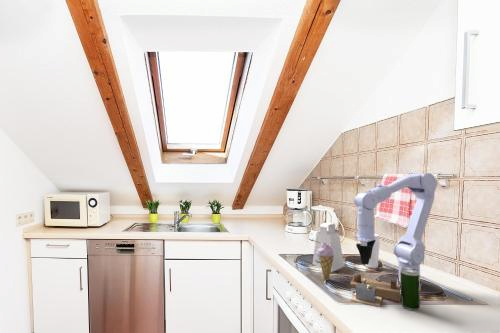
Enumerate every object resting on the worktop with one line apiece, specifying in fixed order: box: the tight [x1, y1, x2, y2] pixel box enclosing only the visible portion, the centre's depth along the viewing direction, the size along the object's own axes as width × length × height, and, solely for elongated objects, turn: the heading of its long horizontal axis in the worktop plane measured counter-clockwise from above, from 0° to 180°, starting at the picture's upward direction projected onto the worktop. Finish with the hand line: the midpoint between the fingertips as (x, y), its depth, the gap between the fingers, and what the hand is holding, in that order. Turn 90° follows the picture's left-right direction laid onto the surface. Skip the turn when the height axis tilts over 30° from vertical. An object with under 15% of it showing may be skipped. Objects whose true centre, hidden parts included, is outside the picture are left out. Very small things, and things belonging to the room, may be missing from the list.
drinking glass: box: [365, 233, 380, 270], centre depth 129 cm, size 7×7×15 cm
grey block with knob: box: [356, 283, 376, 303], centre depth 95 cm, size 4×6×5 cm
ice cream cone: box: [317, 243, 334, 281], centre depth 113 cm, size 7×6×15 cm
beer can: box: [400, 267, 421, 312], centre depth 89 cm, size 5×5×12 cm
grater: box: [312, 222, 345, 273], centre depth 130 cm, size 10×10×20 cm
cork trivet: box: [350, 295, 383, 307], centre depth 95 cm, size 7×9×1 cm
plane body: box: [349, 273, 401, 302], centre depth 100 cm, size 7×16×5 cm, turn 60°
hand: (366, 261), depth 104 cm, fingers open, 7 cm apart
